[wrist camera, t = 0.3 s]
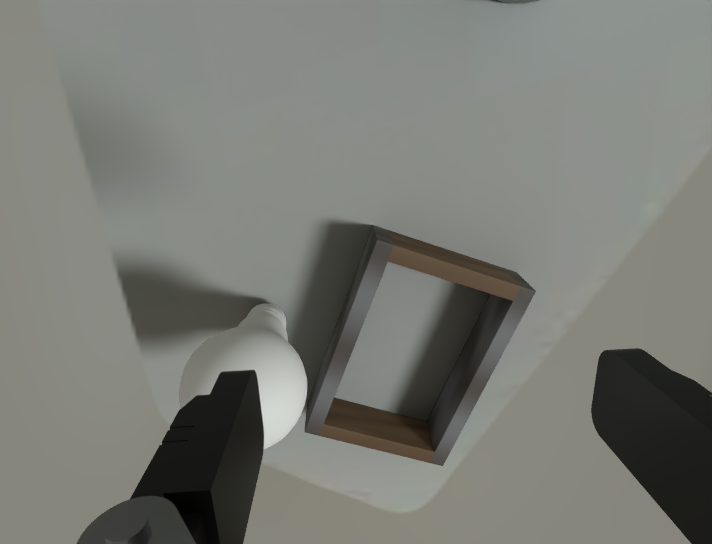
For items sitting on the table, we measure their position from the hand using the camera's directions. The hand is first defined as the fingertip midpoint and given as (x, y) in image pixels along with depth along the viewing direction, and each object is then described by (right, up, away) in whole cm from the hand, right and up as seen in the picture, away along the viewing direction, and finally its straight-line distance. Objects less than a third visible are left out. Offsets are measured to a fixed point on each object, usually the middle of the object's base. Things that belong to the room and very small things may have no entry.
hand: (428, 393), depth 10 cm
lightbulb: (-8, 0, +19) cm, 21 cm away
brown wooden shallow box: (+2, -2, +20) cm, 20 cm away
